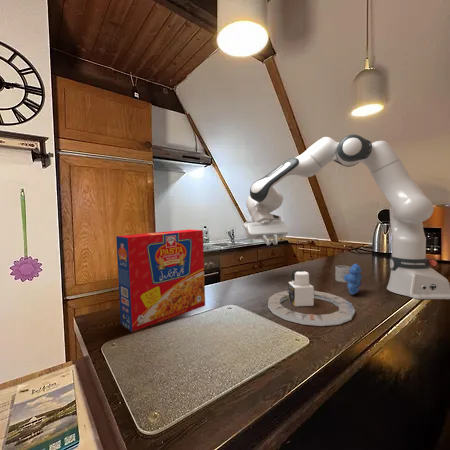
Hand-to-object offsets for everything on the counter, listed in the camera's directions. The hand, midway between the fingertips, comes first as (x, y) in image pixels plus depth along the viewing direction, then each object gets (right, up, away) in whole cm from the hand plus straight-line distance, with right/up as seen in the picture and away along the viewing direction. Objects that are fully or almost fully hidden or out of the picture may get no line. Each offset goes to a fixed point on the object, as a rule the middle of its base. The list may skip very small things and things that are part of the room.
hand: (272, 243), depth 112 cm
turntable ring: (+8, -21, -24) cm, 32 cm away
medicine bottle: (+7, -21, -19) cm, 29 cm away
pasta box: (-41, -22, -26) cm, 54 cm away
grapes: (+31, -19, -10) cm, 38 cm away
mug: (+36, -18, +9) cm, 41 cm away
